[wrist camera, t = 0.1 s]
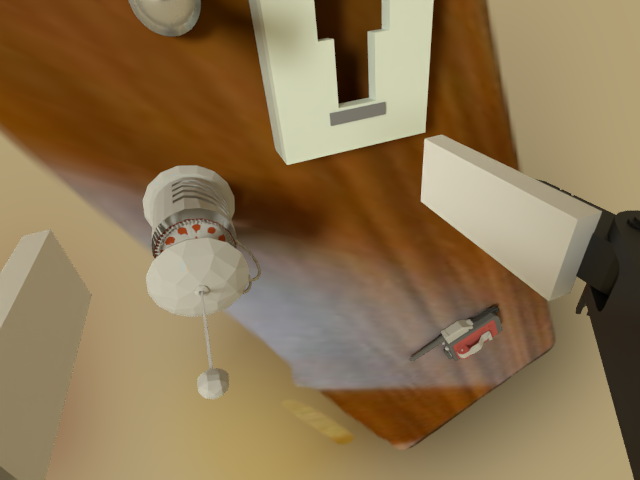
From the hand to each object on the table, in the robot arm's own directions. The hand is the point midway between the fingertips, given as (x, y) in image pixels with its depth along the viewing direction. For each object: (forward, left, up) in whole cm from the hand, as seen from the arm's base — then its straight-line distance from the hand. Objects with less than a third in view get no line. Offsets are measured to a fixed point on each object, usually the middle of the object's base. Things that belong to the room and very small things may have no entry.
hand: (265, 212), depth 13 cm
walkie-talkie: (+54, +35, -28) cm, 70 cm away
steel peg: (-7, -1, -28) cm, 29 cm away
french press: (+13, -4, -28) cm, 31 cm away
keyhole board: (-2, +14, -28) cm, 31 cm away
